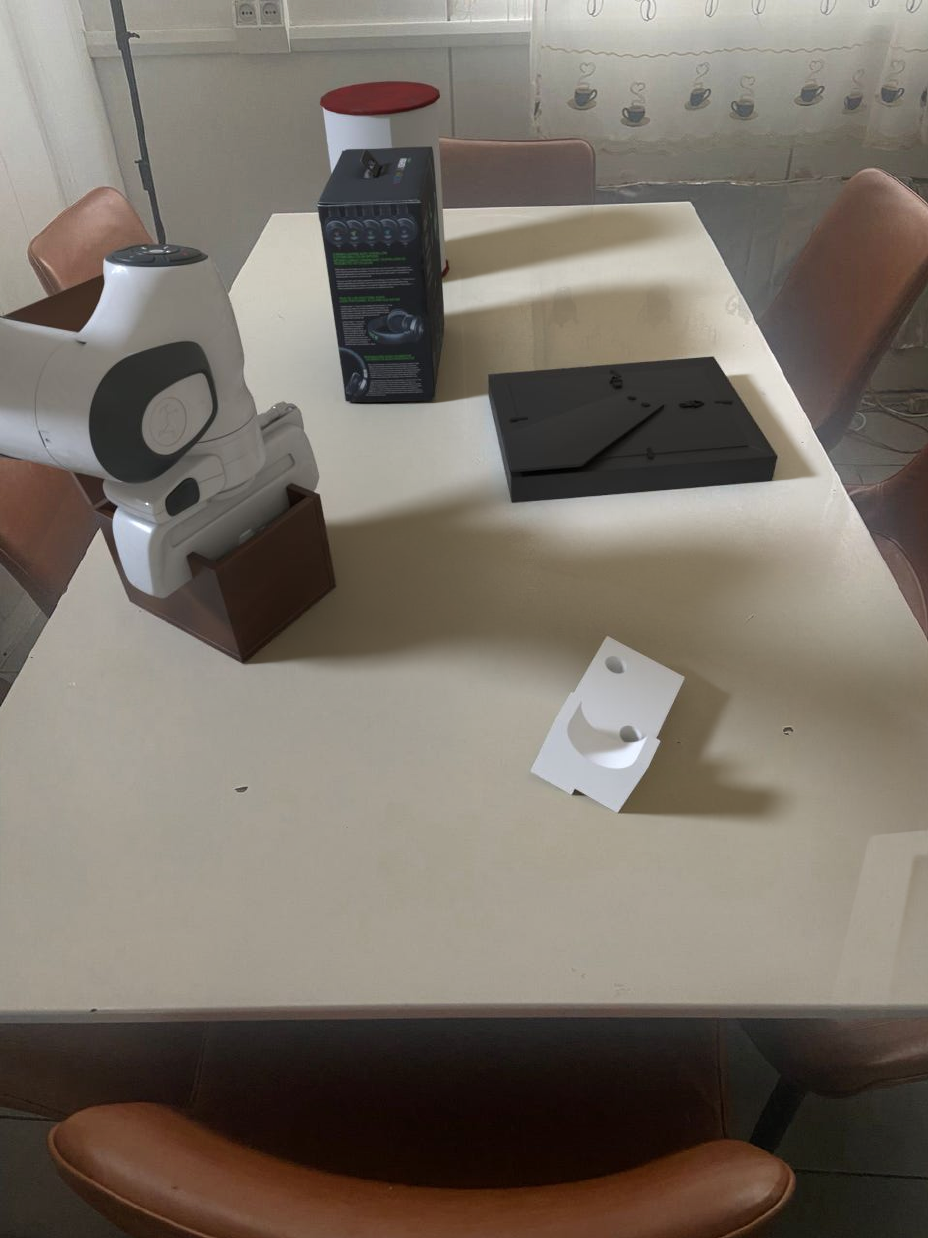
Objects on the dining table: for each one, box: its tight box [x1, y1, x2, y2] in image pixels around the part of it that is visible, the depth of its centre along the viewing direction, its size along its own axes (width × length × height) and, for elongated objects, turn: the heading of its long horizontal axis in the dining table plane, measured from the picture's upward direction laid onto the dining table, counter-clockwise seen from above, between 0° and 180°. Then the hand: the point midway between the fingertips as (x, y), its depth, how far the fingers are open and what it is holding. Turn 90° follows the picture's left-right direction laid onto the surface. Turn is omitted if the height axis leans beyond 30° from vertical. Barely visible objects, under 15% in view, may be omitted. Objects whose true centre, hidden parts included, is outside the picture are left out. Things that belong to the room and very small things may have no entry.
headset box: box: [316, 146, 445, 403], centre depth 111 cm, size 22×12×26 cm, turn 178°
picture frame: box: [487, 355, 779, 503], centre depth 103 cm, size 23×4×28 cm
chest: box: [93, 483, 337, 664], centre depth 82 cm, size 16×13×11 cm
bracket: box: [530, 635, 686, 814], centre depth 68 cm, size 13×7×8 cm, turn 152°
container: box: [319, 80, 450, 278], centre depth 136 cm, size 17×17×25 cm
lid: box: [3, 272, 107, 507], centre depth 78 cm, size 16×13×1 cm
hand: (244, 575), depth 82 cm, fingers closed on pill bottle, 5 cm apart
